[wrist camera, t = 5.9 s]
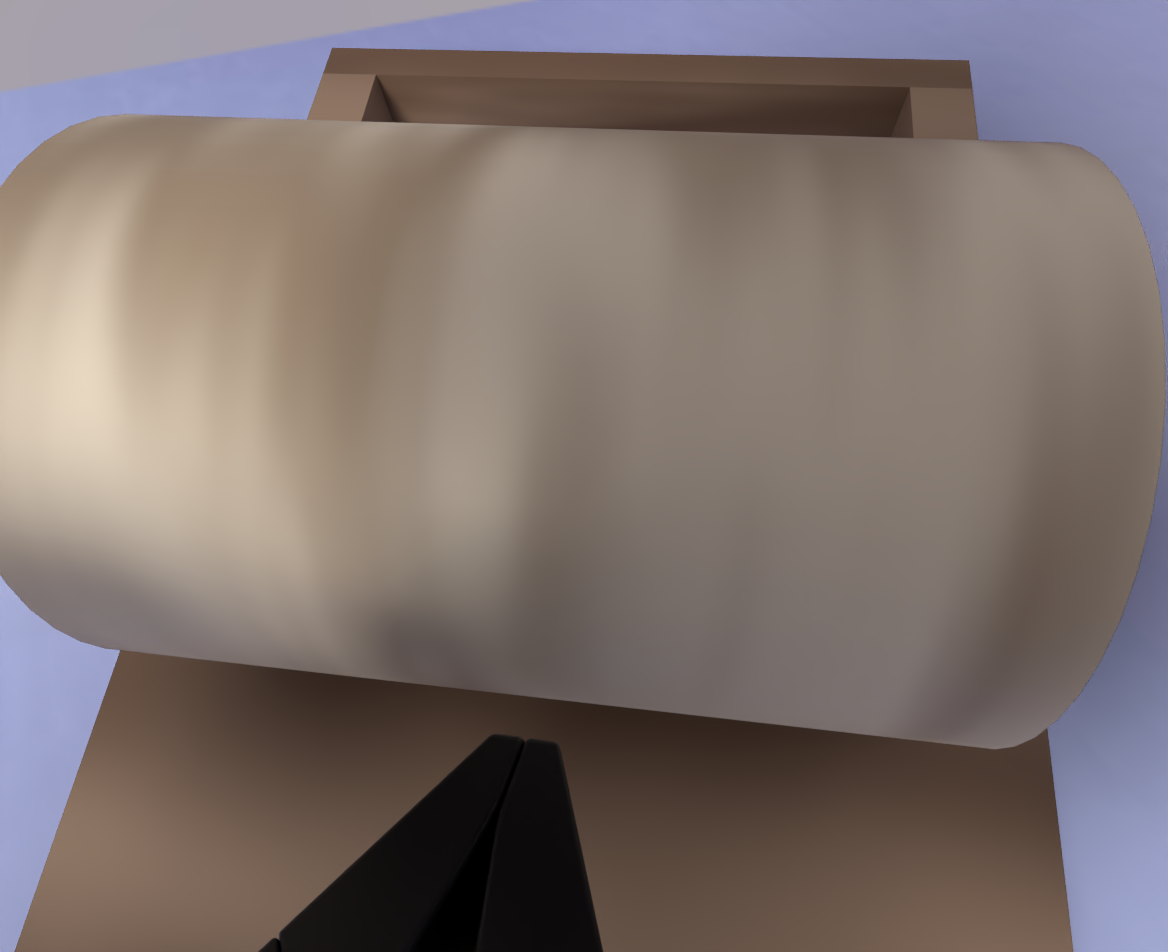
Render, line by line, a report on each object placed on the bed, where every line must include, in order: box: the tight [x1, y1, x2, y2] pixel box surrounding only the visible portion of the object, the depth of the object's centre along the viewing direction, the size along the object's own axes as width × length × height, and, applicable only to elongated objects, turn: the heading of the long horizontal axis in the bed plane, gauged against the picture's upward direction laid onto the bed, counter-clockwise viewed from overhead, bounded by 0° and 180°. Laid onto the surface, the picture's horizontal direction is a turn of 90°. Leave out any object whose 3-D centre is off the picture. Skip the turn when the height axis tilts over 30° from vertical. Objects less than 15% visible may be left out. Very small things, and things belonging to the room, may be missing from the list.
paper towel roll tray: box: [15, 48, 1073, 952], centre depth 17 cm, size 23×17×3 cm
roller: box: [0, 114, 1166, 749], centre depth 11 cm, size 8×12×8 cm
